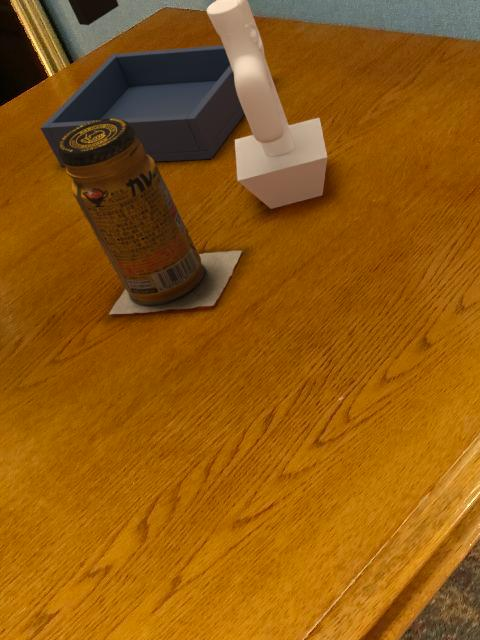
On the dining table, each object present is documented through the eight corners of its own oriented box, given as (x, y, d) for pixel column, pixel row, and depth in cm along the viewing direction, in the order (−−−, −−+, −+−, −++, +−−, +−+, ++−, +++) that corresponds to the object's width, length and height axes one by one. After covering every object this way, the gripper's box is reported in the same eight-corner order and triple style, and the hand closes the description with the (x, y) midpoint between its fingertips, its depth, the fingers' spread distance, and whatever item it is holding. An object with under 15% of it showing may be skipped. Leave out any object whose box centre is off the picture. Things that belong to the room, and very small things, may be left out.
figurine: (255, 229, 80) (176, 37, 69) (250, 174, 86) (177, -10, 75) (342, 205, 80) (278, 11, 69) (331, 152, 87) (270, -34, 75)
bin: (61, 166, 93) (39, 127, 90) (129, 91, 102) (112, 53, 99) (211, 159, 89) (194, 118, 86) (268, 81, 98) (255, 42, 96)
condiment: (143, 260, 79) (68, 114, 71) (243, 252, 78) (178, 102, 69) (110, 317, 75) (24, 168, 66) (215, 309, 73) (141, 156, 64)
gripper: (18, -512, 45) (208, -8, 60) (-289, -437, 55) (-57, -22, 70) (-116, -483, 41) (124, 48, 56) (-422, -408, 51) (-144, 26, 66)
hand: (24, 10), depth 63 cm, fingers open, 13 cm apart
